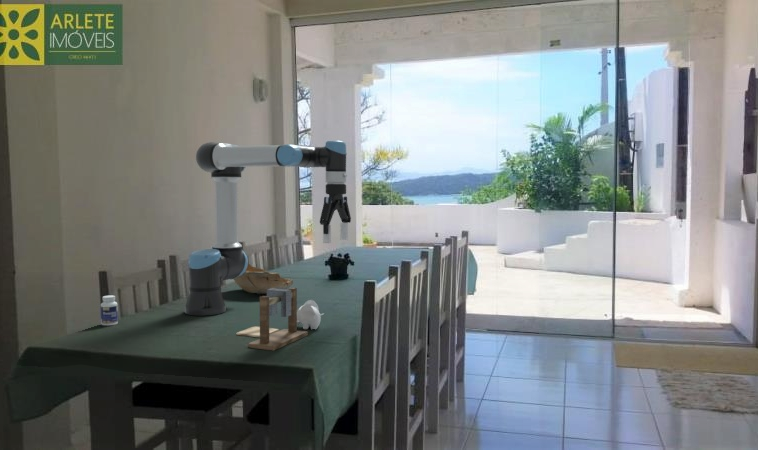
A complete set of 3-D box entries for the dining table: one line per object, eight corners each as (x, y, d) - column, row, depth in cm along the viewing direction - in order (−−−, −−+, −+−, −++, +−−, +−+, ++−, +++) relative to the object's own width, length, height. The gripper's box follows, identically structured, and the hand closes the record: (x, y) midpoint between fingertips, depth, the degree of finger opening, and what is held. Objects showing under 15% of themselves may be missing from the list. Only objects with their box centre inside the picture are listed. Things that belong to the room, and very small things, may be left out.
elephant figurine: (291, 324, 212) (291, 299, 212) (326, 324, 212) (326, 299, 211) (287, 330, 203) (286, 304, 202) (322, 331, 202) (322, 305, 202)
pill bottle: (101, 326, 207) (100, 298, 207) (100, 323, 212) (99, 295, 211) (118, 324, 210) (117, 297, 209) (117, 321, 214) (116, 294, 214)
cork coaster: (236, 334, 197) (236, 332, 197) (254, 328, 206) (254, 326, 206) (262, 337, 193) (262, 336, 193) (279, 330, 202) (279, 329, 202)
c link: (266, 315, 189) (266, 289, 188) (272, 313, 192) (272, 288, 191) (286, 317, 186) (285, 291, 186) (291, 315, 189) (291, 289, 188)
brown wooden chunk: (307, 286, 278) (303, 255, 275) (267, 307, 256) (262, 273, 253) (259, 282, 294) (255, 253, 291) (218, 301, 272) (212, 269, 269)
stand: (273, 350, 178) (273, 299, 177) (248, 347, 182) (247, 296, 181) (307, 335, 197) (307, 288, 196) (284, 332, 200) (283, 286, 199)
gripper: (328, 183, 208) (328, 244, 210) (359, 183, 231) (359, 239, 232) (309, 183, 211) (309, 243, 213) (342, 183, 234) (342, 238, 235)
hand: (335, 241), depth 223 cm, fingers open, 13 cm apart
